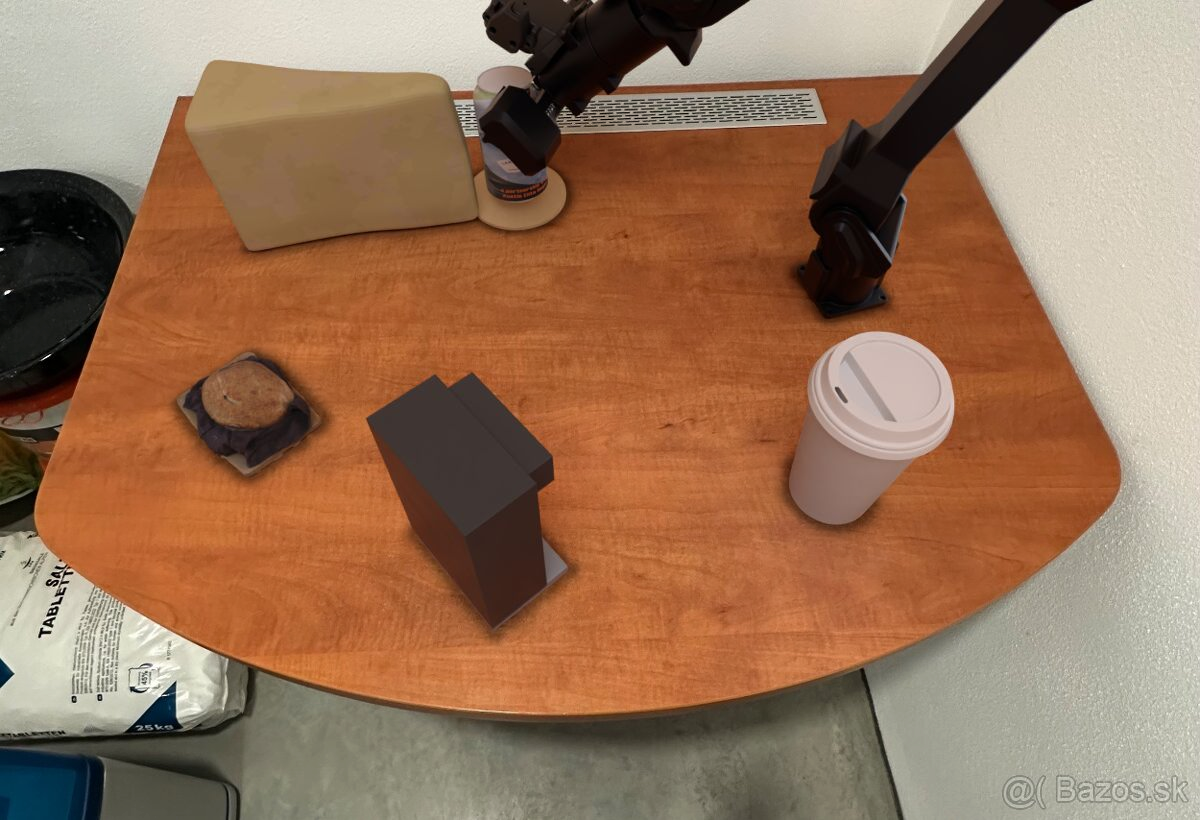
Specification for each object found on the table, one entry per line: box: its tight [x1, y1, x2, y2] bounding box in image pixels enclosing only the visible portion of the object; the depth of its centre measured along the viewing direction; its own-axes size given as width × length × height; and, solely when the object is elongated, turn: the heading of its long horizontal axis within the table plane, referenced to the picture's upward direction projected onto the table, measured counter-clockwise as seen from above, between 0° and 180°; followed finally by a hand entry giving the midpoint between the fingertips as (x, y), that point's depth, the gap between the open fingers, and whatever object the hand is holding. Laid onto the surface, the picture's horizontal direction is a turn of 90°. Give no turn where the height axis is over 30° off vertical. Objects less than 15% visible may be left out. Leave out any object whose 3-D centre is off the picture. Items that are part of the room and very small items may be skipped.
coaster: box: [474, 166, 567, 231], centre depth 81 cm, size 10×10×1 cm
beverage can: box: [472, 65, 548, 203], centre depth 75 cm, size 6×7×12 cm
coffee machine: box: [365, 371, 569, 632], centre depth 53 cm, size 7×10×16 cm
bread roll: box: [176, 351, 323, 478], centre depth 65 cm, size 11×8×4 cm
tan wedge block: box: [184, 59, 479, 252], centre depth 73 cm, size 22×10×15 cm, turn 92°
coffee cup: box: [788, 330, 955, 526], centre depth 58 cm, size 10×10×15 cm
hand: (499, 123), depth 75 cm, fingers closed on beverage can, 5 cm apart
